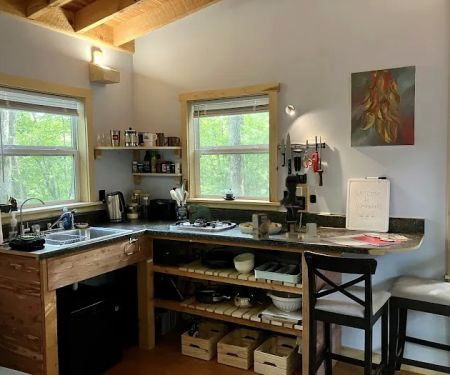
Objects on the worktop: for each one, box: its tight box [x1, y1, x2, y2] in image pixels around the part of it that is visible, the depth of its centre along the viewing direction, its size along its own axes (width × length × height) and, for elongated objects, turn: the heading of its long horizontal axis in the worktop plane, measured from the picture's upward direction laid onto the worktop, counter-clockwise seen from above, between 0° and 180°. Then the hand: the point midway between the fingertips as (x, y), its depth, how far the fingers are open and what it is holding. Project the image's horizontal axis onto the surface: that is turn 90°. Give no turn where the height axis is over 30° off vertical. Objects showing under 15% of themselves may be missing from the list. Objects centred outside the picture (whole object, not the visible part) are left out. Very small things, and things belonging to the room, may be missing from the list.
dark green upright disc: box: [187, 199, 213, 224], centre depth 327 cm, size 20×6×20 cm, turn 119°
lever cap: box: [305, 222, 317, 238], centre depth 261 cm, size 4×5×10 cm
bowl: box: [238, 219, 282, 235], centre depth 296 cm, size 30×30×8 cm
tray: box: [301, 234, 322, 243], centre depth 261 cm, size 11×11×2 cm
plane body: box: [285, 225, 301, 243], centre depth 266 cm, size 19×8×8 cm, turn 173°
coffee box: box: [252, 212, 270, 241], centre depth 267 cm, size 9×6×16 cm
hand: (291, 217), depth 279 cm, fingers open, 9 cm apart
